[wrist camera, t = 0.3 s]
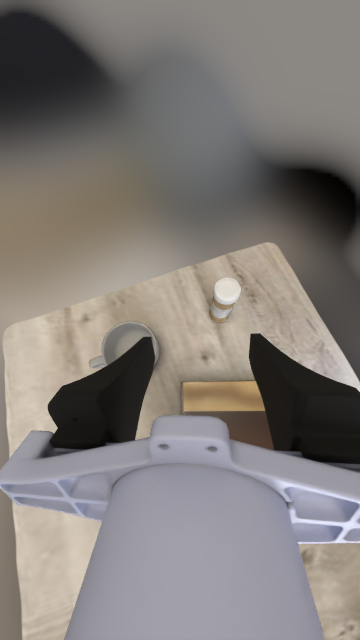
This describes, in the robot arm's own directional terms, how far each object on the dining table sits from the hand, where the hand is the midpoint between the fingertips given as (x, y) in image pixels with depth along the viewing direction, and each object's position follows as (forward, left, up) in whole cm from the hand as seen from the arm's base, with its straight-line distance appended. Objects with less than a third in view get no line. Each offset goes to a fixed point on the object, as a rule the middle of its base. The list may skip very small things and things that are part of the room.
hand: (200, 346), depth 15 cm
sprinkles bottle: (+13, -6, -30) cm, 33 cm away
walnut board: (-9, -8, -30) cm, 33 cm away
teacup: (+4, +14, -30) cm, 34 cm away
